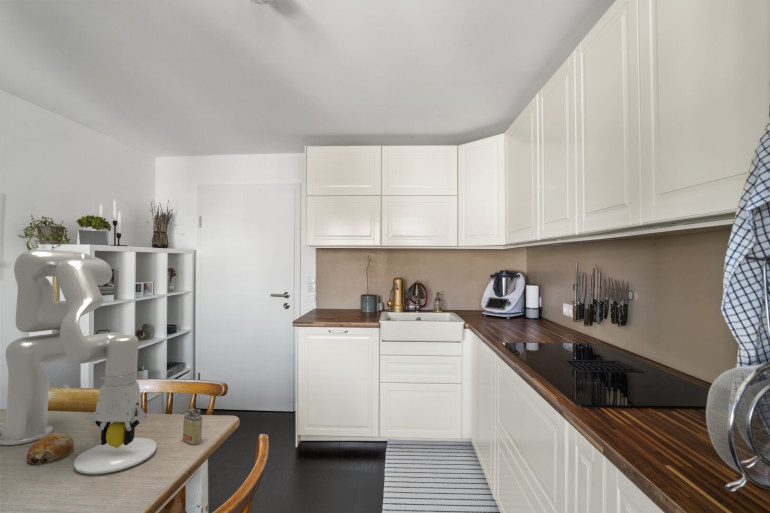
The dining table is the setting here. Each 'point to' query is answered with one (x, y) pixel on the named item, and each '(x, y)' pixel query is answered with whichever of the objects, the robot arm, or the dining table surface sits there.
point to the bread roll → (50, 448)
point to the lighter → (192, 427)
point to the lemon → (116, 434)
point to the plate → (114, 456)
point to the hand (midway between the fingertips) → (117, 442)
